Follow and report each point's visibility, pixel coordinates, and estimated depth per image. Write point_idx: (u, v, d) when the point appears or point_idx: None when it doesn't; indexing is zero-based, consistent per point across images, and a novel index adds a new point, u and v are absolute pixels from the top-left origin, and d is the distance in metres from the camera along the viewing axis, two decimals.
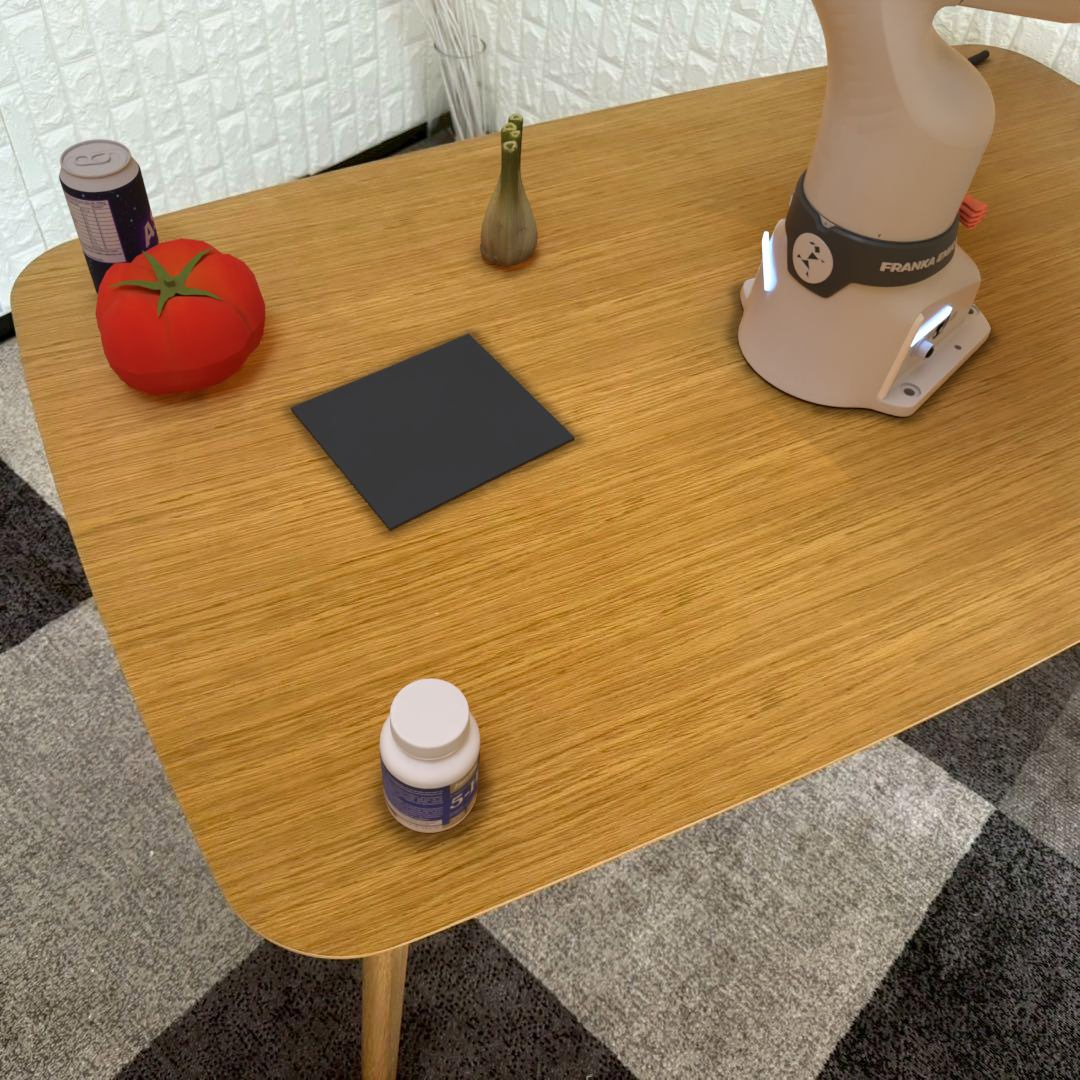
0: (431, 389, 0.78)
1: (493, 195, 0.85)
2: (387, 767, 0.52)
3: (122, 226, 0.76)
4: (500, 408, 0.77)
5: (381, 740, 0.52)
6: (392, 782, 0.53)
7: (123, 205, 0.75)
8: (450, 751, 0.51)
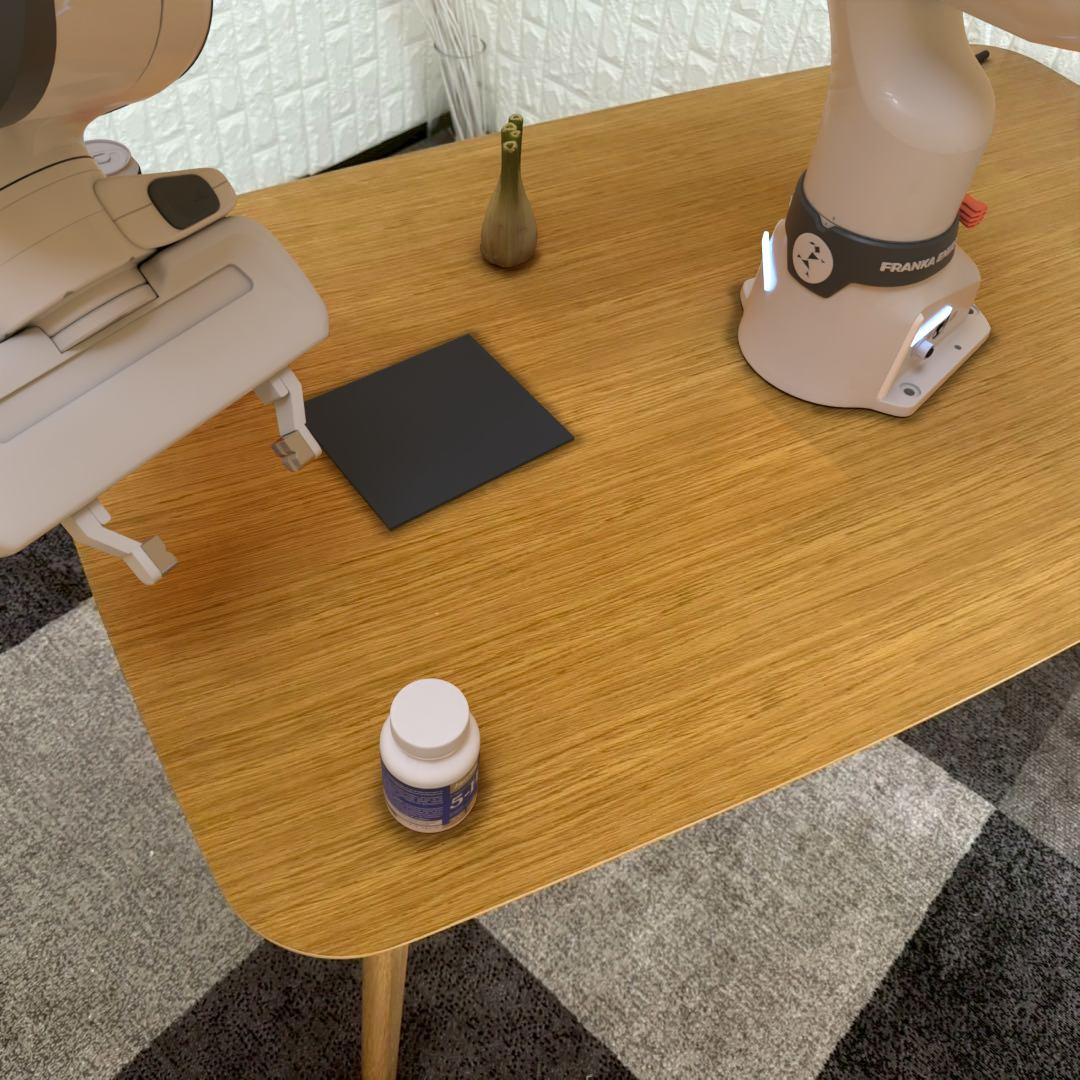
0: (431, 389, 0.78)
1: (493, 195, 0.85)
2: (387, 767, 0.52)
3: None
4: (500, 408, 0.77)
5: (381, 740, 0.52)
6: (392, 782, 0.53)
7: None
8: (450, 751, 0.51)
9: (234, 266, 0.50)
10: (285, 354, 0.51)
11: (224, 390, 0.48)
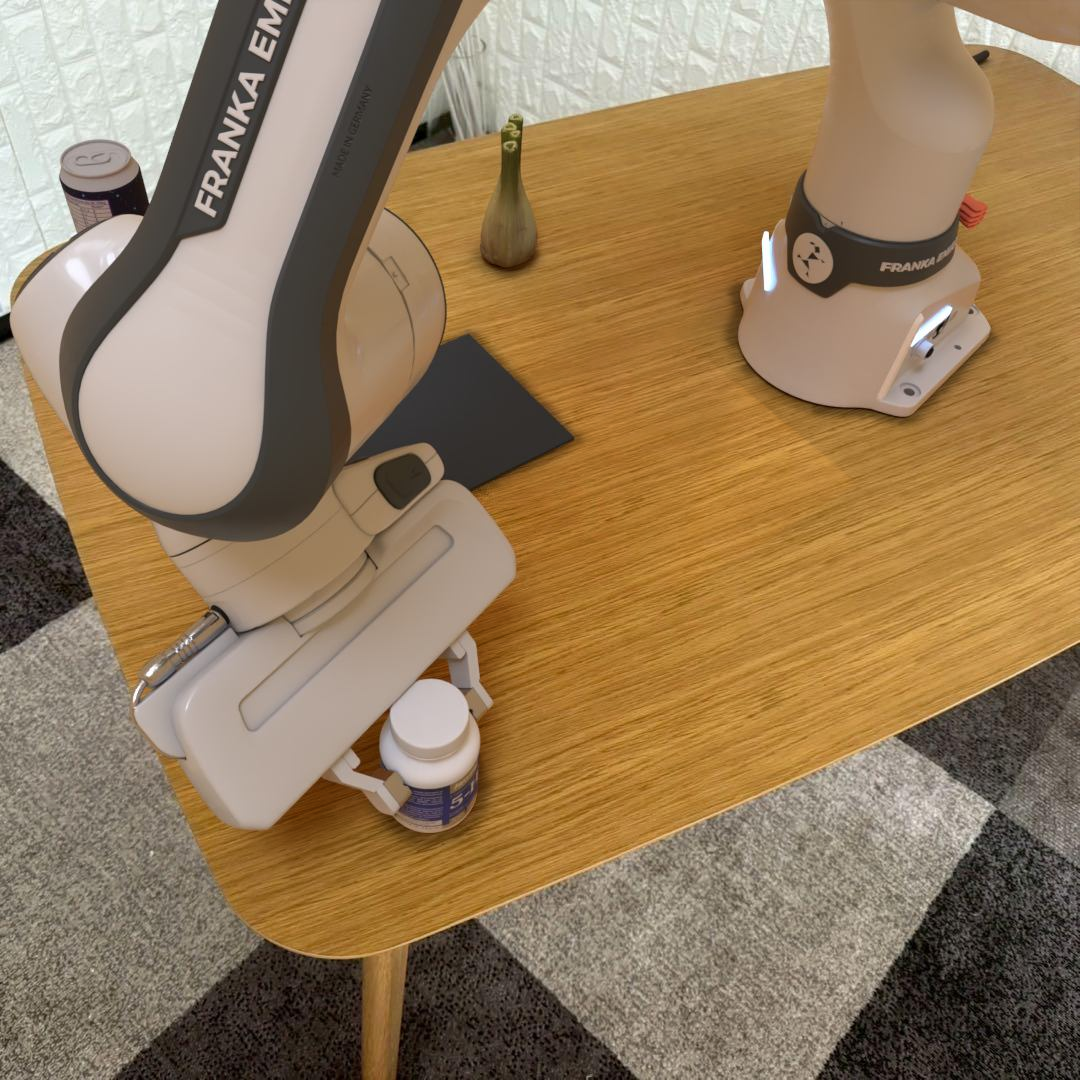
0: (431, 389, 0.78)
1: (493, 195, 0.85)
2: (387, 767, 0.52)
3: None
4: (500, 408, 0.77)
5: (381, 740, 0.52)
6: None
7: (123, 205, 0.75)
8: (450, 751, 0.51)
9: (438, 525, 0.53)
10: (482, 602, 0.54)
11: (433, 647, 0.52)
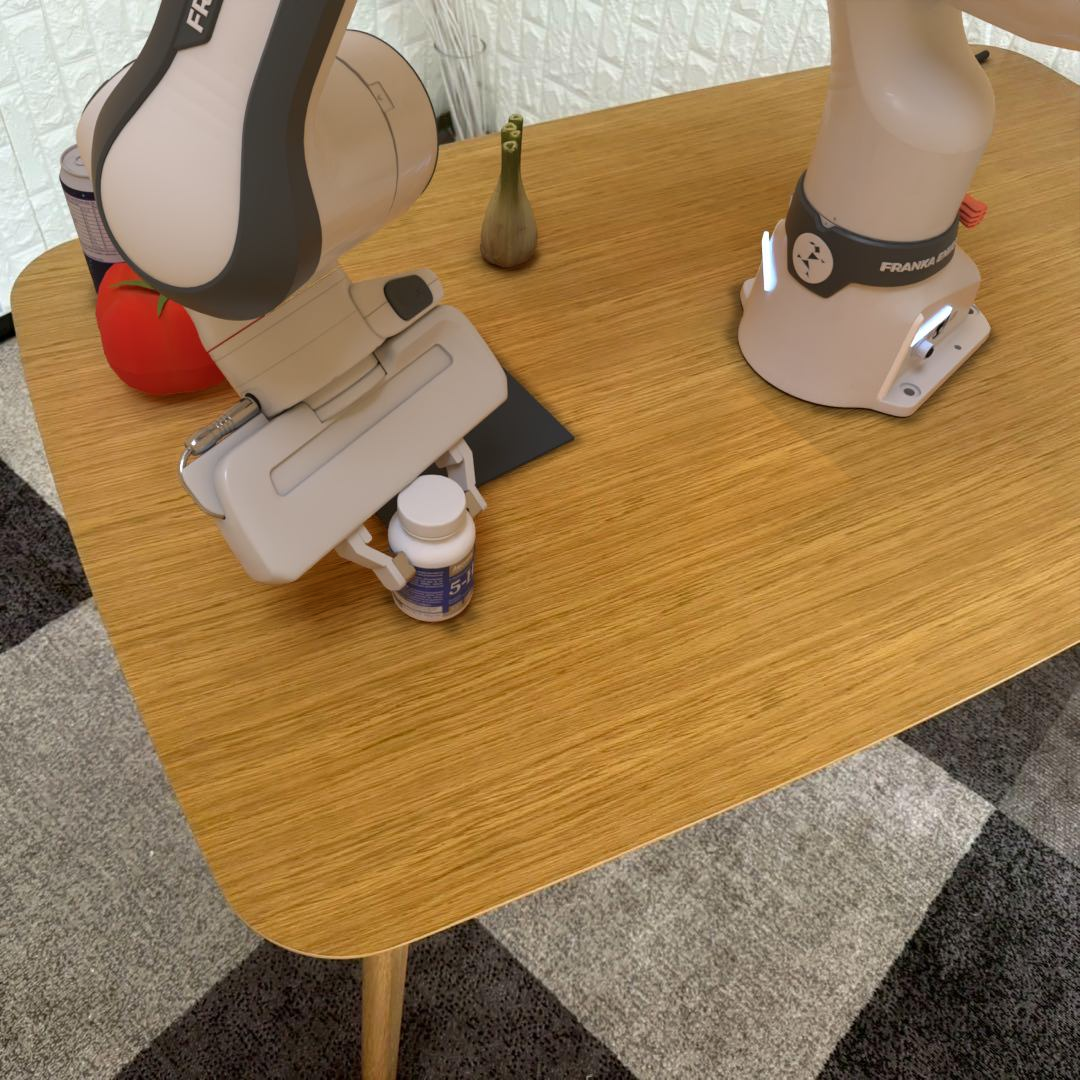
0: None
1: (493, 195, 0.85)
2: (395, 551, 0.60)
3: None
4: (500, 408, 0.77)
5: (389, 529, 0.60)
6: None
7: None
8: (449, 532, 0.59)
9: (439, 345, 0.61)
10: (477, 415, 0.62)
11: (434, 447, 0.60)
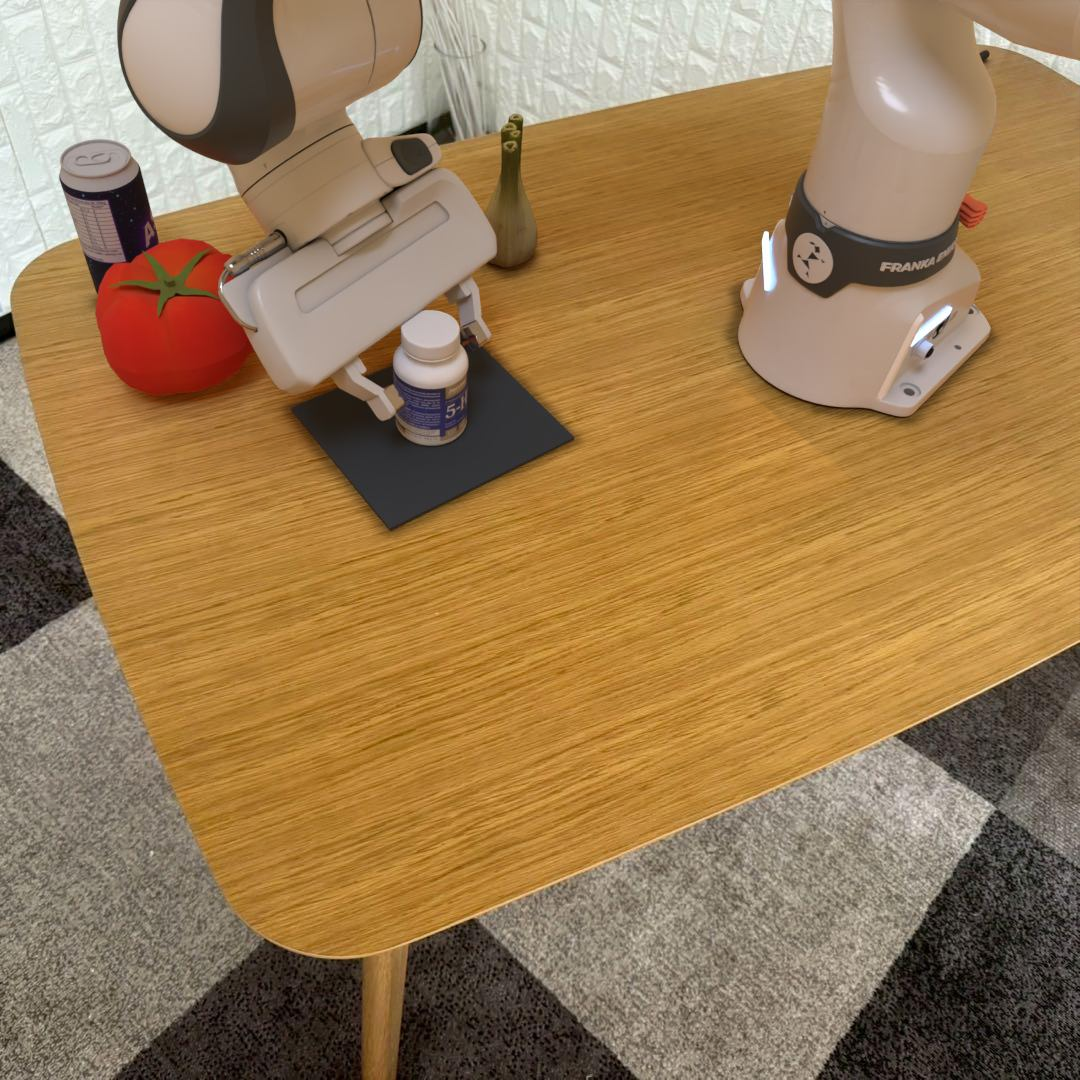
0: None
1: (493, 195, 0.85)
2: (399, 375, 0.70)
3: (122, 226, 0.76)
4: (500, 408, 0.77)
5: (394, 358, 0.70)
6: (402, 390, 0.71)
7: (123, 205, 0.75)
8: (445, 356, 0.69)
9: (437, 202, 0.71)
10: (470, 265, 0.72)
11: (433, 288, 0.70)
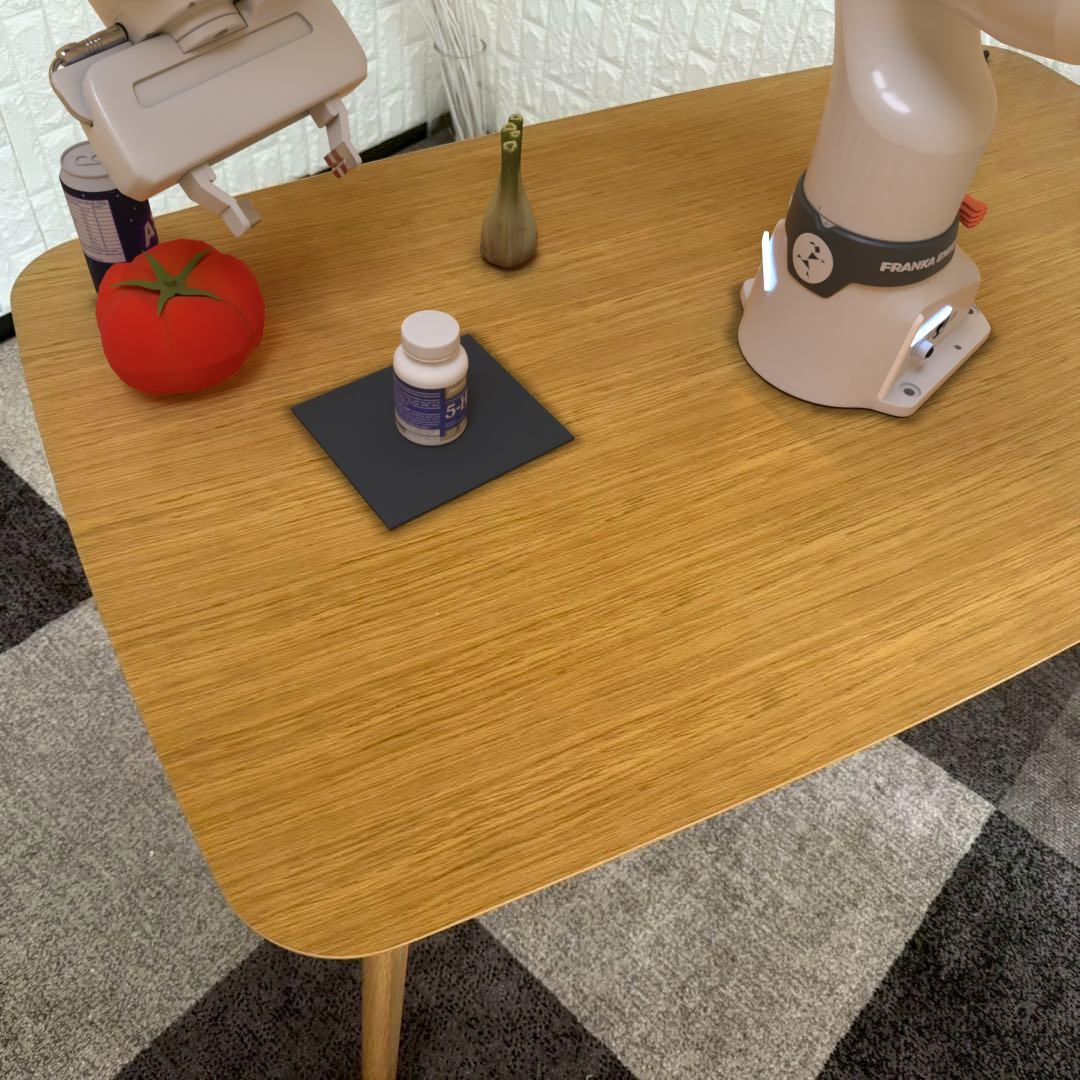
0: None
1: (493, 195, 0.85)
2: (399, 375, 0.70)
3: (122, 226, 0.76)
4: (500, 408, 0.77)
5: (394, 358, 0.70)
6: (402, 390, 0.71)
7: (123, 205, 0.75)
8: (445, 356, 0.69)
9: (300, 14, 0.68)
10: (336, 82, 0.69)
11: (293, 100, 0.67)
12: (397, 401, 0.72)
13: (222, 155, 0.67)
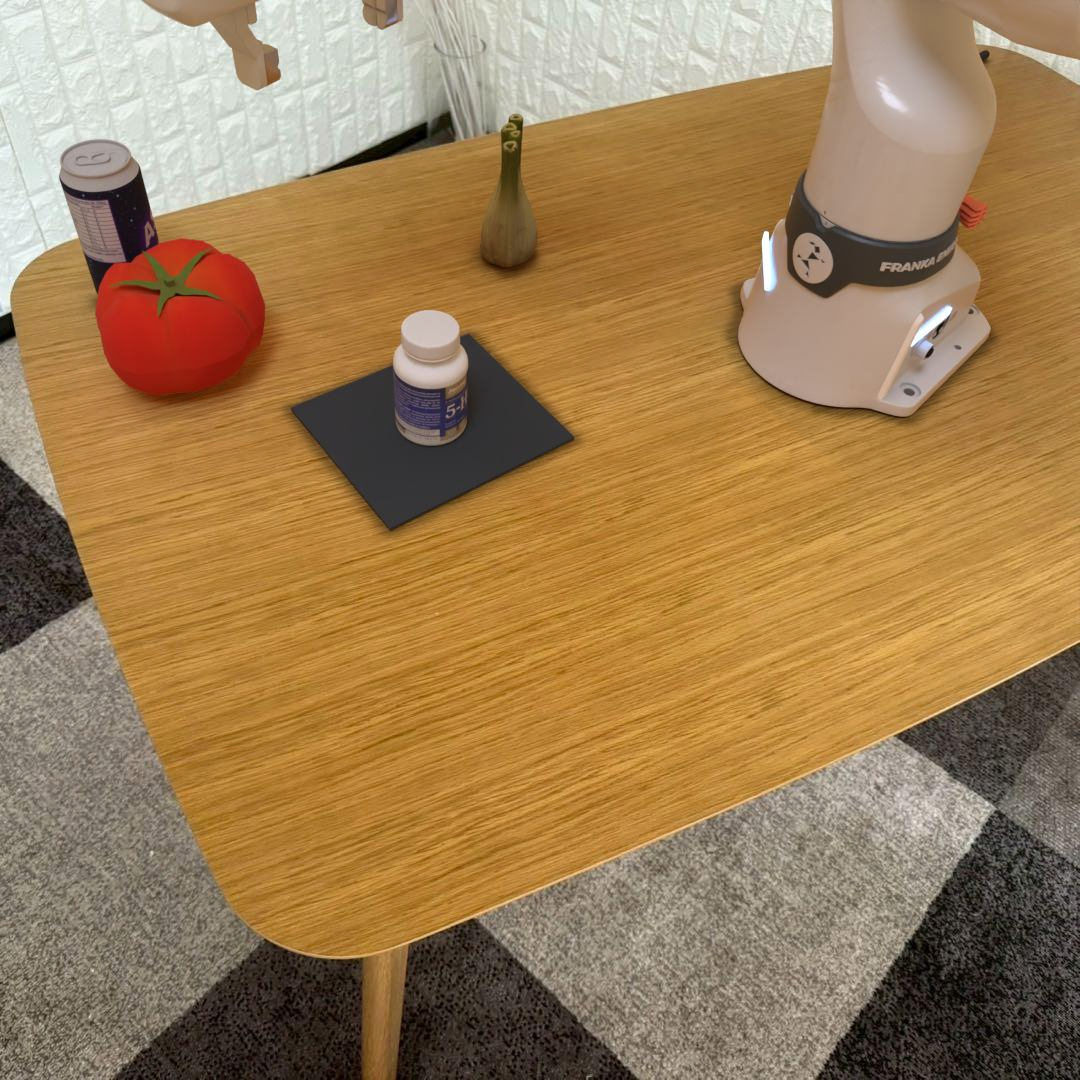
0: None
1: (493, 195, 0.85)
2: (399, 375, 0.70)
3: (122, 226, 0.76)
4: (500, 408, 0.77)
5: (394, 358, 0.70)
6: (402, 390, 0.71)
7: (123, 205, 0.75)
8: (445, 356, 0.69)
9: None
10: None
11: None
12: (397, 401, 0.72)
13: None
